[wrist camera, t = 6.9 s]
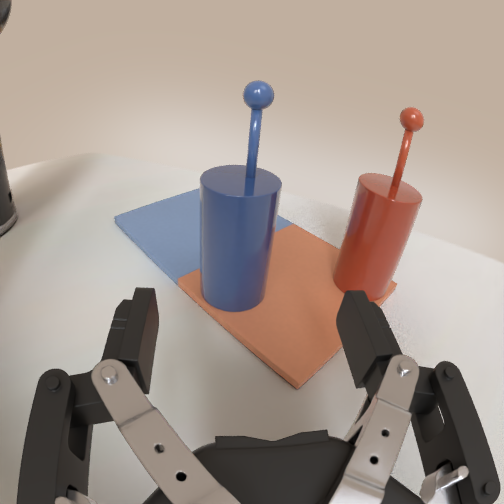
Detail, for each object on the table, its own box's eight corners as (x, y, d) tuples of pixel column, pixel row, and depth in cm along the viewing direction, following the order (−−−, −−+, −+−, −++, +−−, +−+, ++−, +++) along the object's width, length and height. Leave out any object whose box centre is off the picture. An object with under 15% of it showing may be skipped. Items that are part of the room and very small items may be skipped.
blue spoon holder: (230, 323, 24) (248, 86, 14) (186, 284, 27) (186, 77, 17) (278, 292, 28) (313, 88, 18) (235, 260, 31) (250, 76, 21)
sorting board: (297, 389, 21) (299, 384, 20) (114, 222, 36) (113, 216, 35) (394, 289, 30) (397, 283, 30) (217, 187, 46) (217, 182, 45)
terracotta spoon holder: (370, 310, 26) (436, 119, 17) (321, 279, 29) (363, 95, 20) (395, 283, 30) (451, 120, 20) (350, 257, 33) (391, 98, 23)
